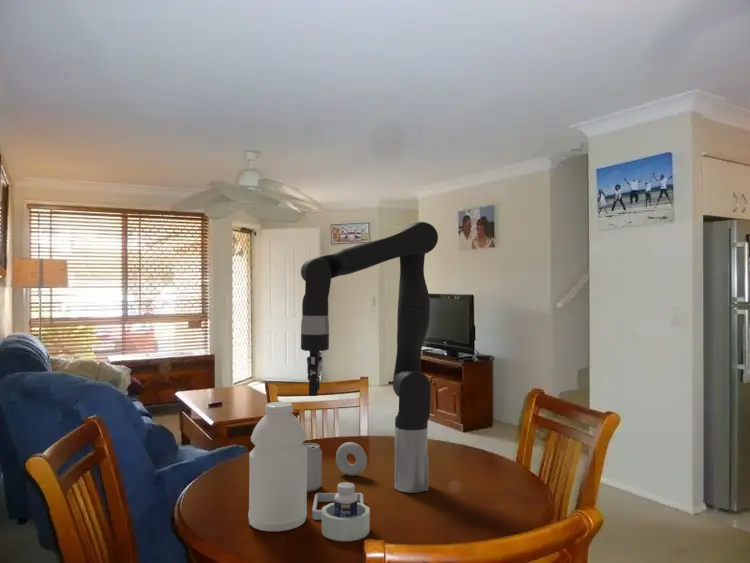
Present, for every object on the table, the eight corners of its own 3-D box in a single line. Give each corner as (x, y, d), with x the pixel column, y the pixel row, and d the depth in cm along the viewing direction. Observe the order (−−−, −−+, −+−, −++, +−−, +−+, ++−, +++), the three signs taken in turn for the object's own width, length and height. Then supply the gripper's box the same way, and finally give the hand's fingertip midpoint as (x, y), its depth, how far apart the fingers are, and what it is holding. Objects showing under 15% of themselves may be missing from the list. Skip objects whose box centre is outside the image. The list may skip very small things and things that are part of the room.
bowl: (368, 521, 137) (368, 501, 137) (370, 541, 126) (370, 519, 126) (323, 521, 137) (323, 501, 137) (320, 541, 126) (320, 519, 126)
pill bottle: (339, 534, 128) (339, 490, 128) (330, 525, 133) (330, 483, 133) (360, 529, 130) (361, 486, 131) (351, 521, 135) (351, 479, 135)
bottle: (254, 536, 128) (256, 411, 129) (242, 514, 141) (244, 400, 141) (314, 527, 134) (315, 407, 134) (298, 506, 146) (299, 397, 147)
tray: (362, 500, 151) (363, 492, 151) (363, 519, 138) (363, 511, 138) (315, 500, 151) (315, 493, 151) (311, 519, 138) (311, 511, 138)
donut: (333, 475, 172) (333, 441, 172) (338, 471, 175) (338, 439, 175) (363, 479, 168) (364, 445, 168) (368, 476, 171) (368, 442, 171)
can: (316, 493, 156) (317, 449, 156) (290, 491, 157) (291, 447, 157) (324, 484, 163) (325, 442, 163) (299, 482, 165) (300, 441, 165)
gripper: (327, 334, 146) (327, 397, 146) (330, 330, 160) (329, 388, 160) (298, 334, 146) (297, 397, 145) (303, 330, 160) (302, 388, 160)
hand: (314, 392), depth 153 cm, fingers open, 8 cm apart
